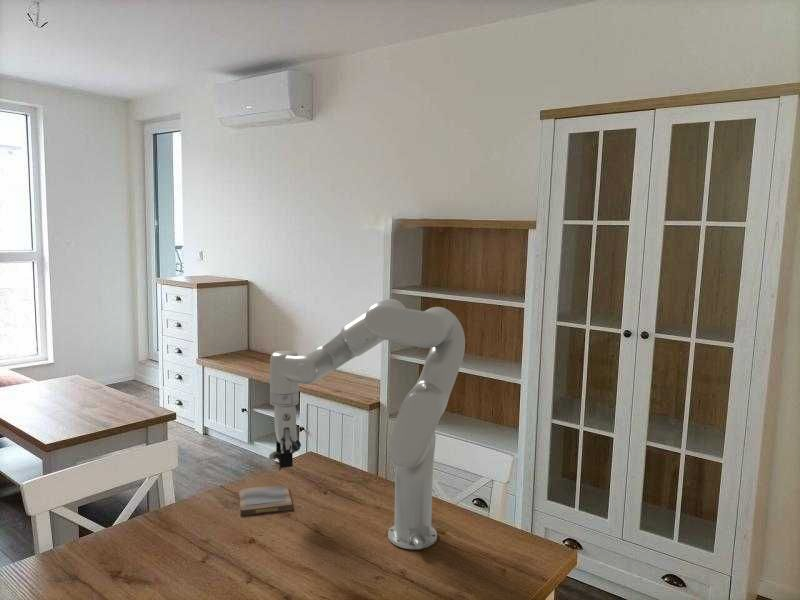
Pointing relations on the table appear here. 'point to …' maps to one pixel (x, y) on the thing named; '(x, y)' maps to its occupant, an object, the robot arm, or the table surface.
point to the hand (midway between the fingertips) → (284, 460)
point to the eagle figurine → (276, 455)
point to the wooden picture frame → (264, 499)
